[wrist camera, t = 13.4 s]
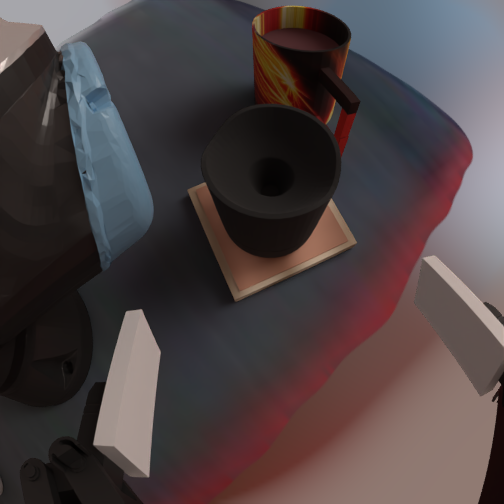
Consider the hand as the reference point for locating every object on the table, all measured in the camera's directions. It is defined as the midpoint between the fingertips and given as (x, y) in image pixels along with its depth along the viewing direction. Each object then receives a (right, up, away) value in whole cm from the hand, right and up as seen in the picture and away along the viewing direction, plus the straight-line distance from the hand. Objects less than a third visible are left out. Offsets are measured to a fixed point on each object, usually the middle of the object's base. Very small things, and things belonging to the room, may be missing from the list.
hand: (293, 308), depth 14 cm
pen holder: (0, +6, +16) cm, 17 cm away
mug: (+5, +19, +22) cm, 29 cm away
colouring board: (0, +6, +17) cm, 18 cm away
